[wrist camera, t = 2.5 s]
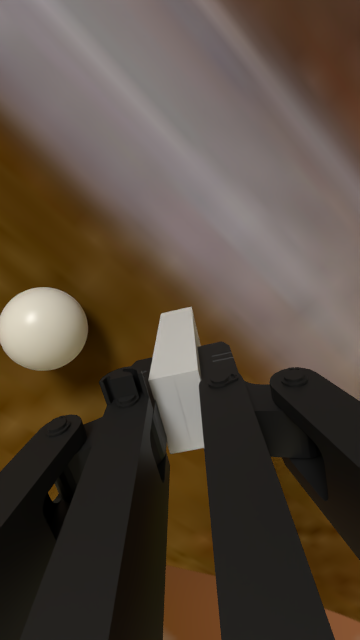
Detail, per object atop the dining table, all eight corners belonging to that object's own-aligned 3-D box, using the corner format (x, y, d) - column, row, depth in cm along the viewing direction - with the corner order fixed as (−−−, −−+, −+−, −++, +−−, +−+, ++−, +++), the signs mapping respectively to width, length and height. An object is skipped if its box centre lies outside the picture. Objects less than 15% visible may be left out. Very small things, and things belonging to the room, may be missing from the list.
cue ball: (82, 271, 24) (54, 290, 18) (106, 341, 25) (86, 376, 20) (10, 288, 24) (-37, 312, 19) (38, 355, 26) (1, 394, 21)
